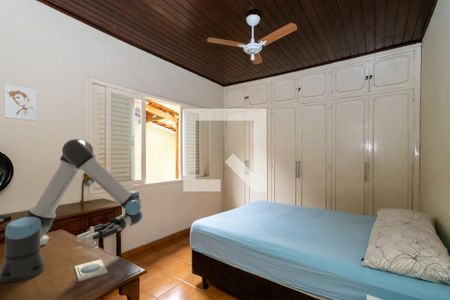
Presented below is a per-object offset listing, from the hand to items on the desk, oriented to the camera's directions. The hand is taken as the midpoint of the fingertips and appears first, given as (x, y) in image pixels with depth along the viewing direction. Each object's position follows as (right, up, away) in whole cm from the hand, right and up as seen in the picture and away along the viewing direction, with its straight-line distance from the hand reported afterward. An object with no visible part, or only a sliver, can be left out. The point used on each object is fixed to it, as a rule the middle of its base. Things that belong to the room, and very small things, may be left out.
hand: (81, 239), depth 98 cm
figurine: (-45, -16, +32) cm, 57 cm away
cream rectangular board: (+1, -16, +5) cm, 17 cm away
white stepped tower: (+1, -6, +5) cm, 8 cm away
